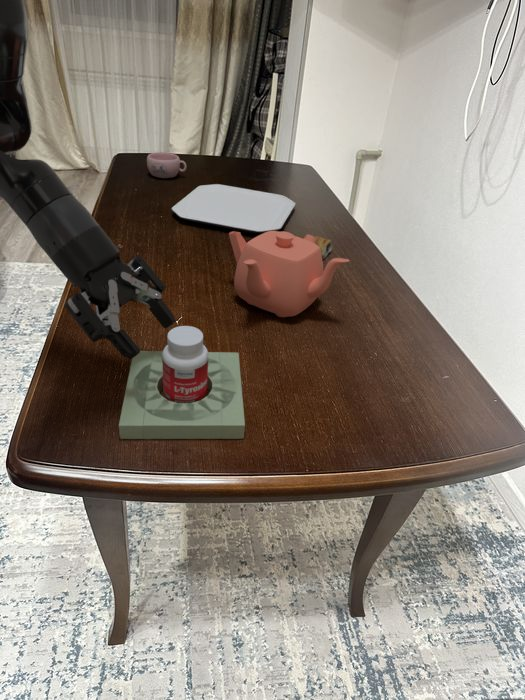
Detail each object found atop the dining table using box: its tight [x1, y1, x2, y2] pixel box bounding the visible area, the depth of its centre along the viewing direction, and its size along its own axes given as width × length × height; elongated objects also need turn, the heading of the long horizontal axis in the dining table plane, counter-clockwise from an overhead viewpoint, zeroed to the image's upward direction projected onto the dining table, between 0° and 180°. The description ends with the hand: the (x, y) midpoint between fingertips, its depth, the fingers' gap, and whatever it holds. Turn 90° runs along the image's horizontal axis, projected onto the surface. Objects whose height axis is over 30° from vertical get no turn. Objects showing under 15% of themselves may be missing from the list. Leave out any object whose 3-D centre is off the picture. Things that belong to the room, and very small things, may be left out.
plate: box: [171, 183, 296, 234], centre depth 131 cm, size 29×29×2 cm
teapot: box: [228, 230, 350, 318], centre depth 91 cm, size 18×18×14 cm
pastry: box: [299, 235, 333, 260], centre depth 115 cm, size 9×7×4 cm
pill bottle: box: [162, 325, 209, 403], centre depth 67 cm, size 6×6×11 cm
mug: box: [146, 151, 187, 179], centre depth 150 cm, size 12×10×6 cm
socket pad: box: [118, 350, 246, 440], centre depth 70 cm, size 16×16×2 cm
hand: (153, 339), depth 67 cm, fingers open, 8 cm apart
